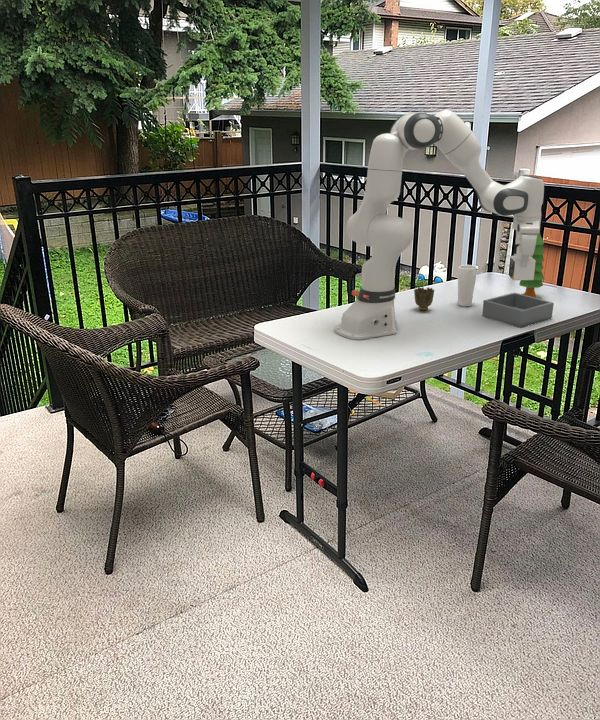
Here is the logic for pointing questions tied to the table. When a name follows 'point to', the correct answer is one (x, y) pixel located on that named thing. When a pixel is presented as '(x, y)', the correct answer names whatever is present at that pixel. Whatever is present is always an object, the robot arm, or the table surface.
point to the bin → (517, 309)
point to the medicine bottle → (517, 270)
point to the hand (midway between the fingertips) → (522, 263)
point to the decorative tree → (537, 273)
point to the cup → (423, 297)
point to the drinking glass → (466, 284)
